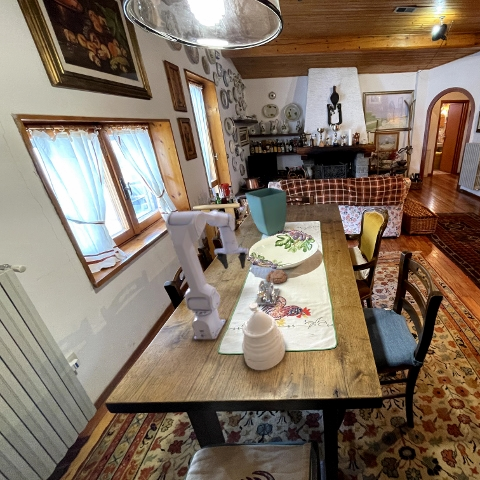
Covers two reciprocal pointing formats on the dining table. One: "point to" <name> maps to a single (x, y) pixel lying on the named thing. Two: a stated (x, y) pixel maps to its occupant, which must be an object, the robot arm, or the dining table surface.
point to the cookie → (276, 276)
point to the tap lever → (263, 290)
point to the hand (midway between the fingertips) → (235, 267)
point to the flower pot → (268, 209)
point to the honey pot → (262, 340)
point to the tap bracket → (268, 295)
